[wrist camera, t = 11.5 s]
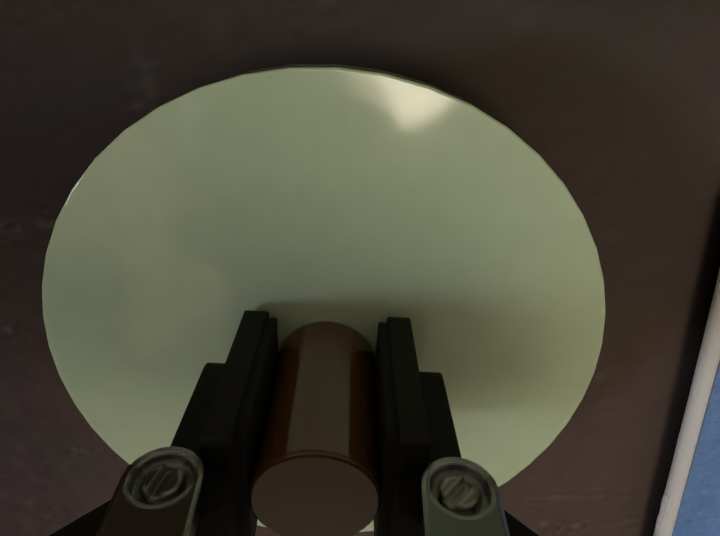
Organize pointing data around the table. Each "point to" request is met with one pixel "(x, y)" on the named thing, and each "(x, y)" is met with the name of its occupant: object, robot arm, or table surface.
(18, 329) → the table surface
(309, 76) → the lid
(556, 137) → the table surface
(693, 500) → the tablet
